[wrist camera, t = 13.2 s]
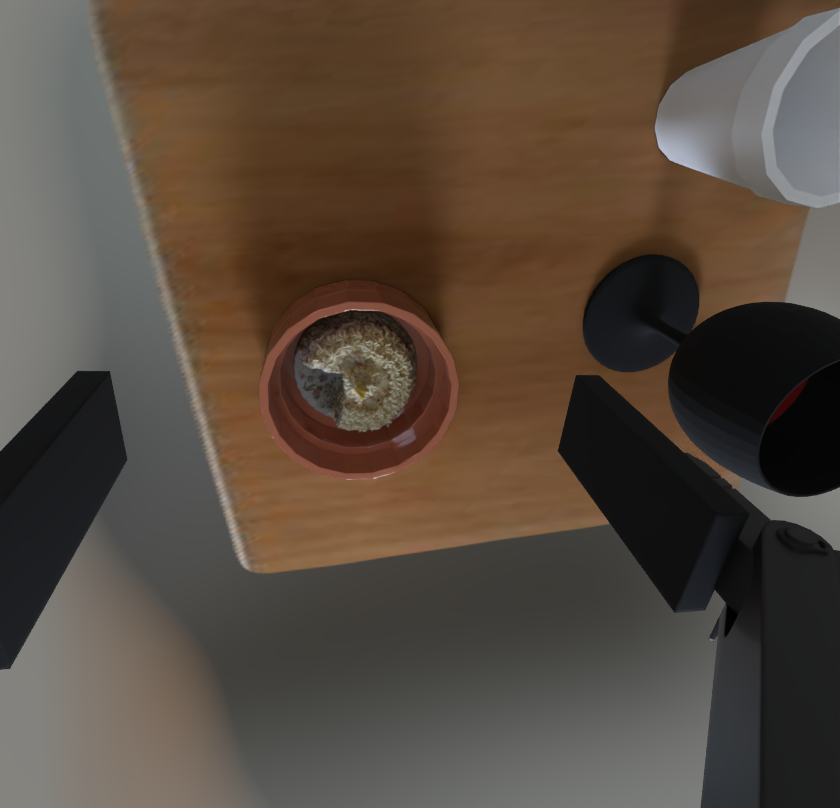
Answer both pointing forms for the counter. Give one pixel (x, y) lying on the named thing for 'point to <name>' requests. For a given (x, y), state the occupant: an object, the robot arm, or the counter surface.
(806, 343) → the wine glass
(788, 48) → the foam cup
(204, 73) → the counter surface
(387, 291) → the bowl
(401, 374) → the cake
